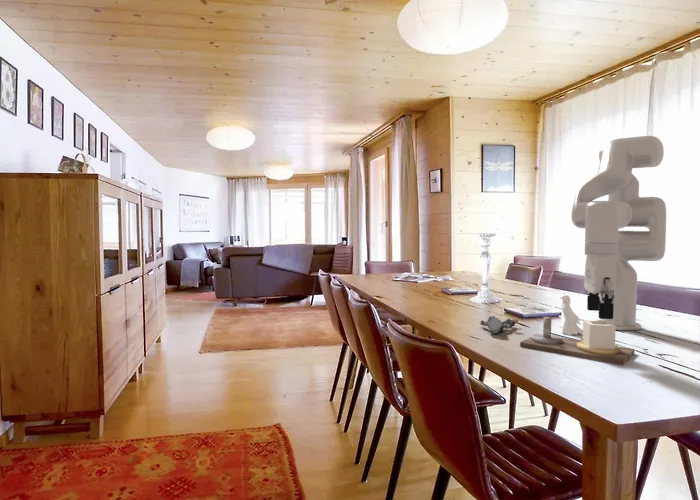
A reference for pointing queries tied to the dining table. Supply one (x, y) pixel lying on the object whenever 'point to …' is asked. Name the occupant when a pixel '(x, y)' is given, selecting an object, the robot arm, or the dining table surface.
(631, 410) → the dining table surface
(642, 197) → the robot arm
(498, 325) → the toy
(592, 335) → the collar
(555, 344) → the workboard
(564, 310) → the figurine
